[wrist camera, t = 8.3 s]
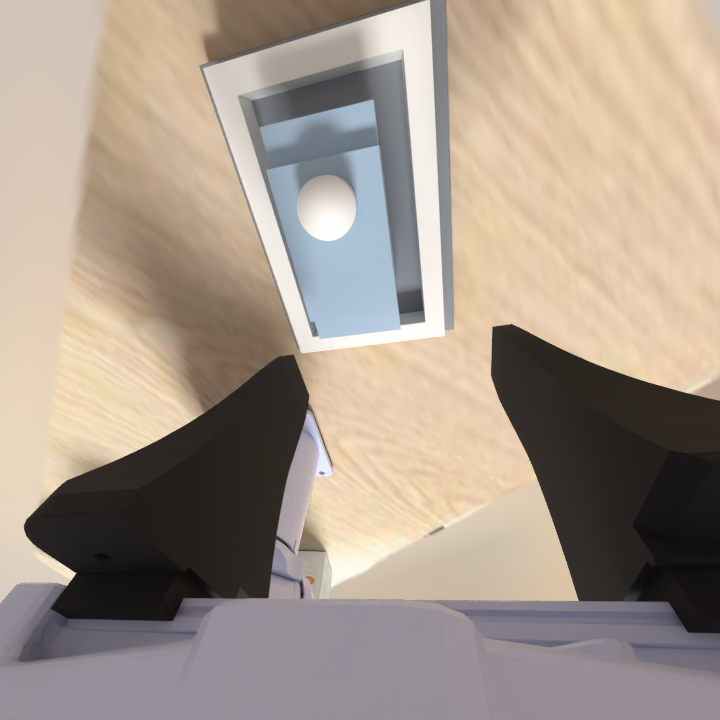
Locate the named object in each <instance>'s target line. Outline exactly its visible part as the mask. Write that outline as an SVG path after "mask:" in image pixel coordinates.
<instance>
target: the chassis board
mask: <svg viewBox="0 0 720 720" xmlns="http://www.w3.org/2000/svg"><path fill="white" fill-rule="evenodd" d="M200 69H201V72H202V75H203V78H204V80H205V83H206V86H207V89H208V92H209V95H210V98H211V101H212V103H213V106H214V109H215V112H216V115H217V118H218V121H219V123H220V126H221V129H222V132H223V135H224V138H225V141H226V144H227V146H228V149H229V152H230V155H231V158H232V161H233V164H234V166H235V169H236V172H237V175H238V178H239V181H240V184H241V186H242V189H243V192H244V195H245V198H246V201H247V204H248V207H249V209H250V212H251V215H252V218H253V221H254V224H255V227H256V229H257V232H258V235H259V238H260V241H261V244H262V247H263V249H264V252H265V255H266V258H267V261H268V264H269V267H270V270H271V272H272V275H273V278H274V281H275V284H276V287H277V290H278V292H279V295H280V298H281V301H282V304H283V307H284V310H285V312H286V315H287V318H288V321H289V324H290V327H291V330H292V333H293V335H294V338H295V341H296V344H297V347H298V349H300V351H301V353H309V352H317V351H325V350H333V349H341V348H349V347H358V346H366V345H374V344H382V343H390V342H398V341H406V340H414V339H422V338H430V337H439V336H445V330H452V329H454V304H453V265H452V226H451V187H450V148H449V109H448V70H447V31H446V0H411V1H408V2H405V3H402V4H398V5H395V6H392V7H389V8H385V9H382V10H379V11H376V12H372V13H369V14H366V15H363V16H359V17H356V18H353V19H349V20H346V21H343V22H340V23H336V24H333V25H330V26H327V27H323V28H320V29H317V30H314V31H310V32H307V33H304V34H301V35H297V36H294V37H291V38H288V39H284V40H281V41H278V42H275V43H271V44H268V45H265V46H262V47H258V48H255V49H252V50H248V51H245V52H242V53H239V54H235V55H232V56H229V57H226V58H222V59H219V60H216V61H213V62H209V63H206V64H203V65H200ZM369 100H374V106H375V114H376V123H377V131H378V139H379V146H380V147H381V151H382V159H383V168H384V177H385V185H386V194H387V202H388V211H389V219H390V228H391V237H392V245H393V254H394V262H395V271H396V282H397V298H398V307H399V316H400V325H401V329H400V330H391V331H383V332H375V333H366V334H358V335H350V336H342V337H333V338H325V339H320V338H319V335H318V331H317V328H316V324H315V322H310V319H309V315H308V312H307V308H306V305H305V302H304V298H303V295H302V291H301V288H300V285H299V281H298V278H297V275H296V271H295V268H294V264H293V261H292V258H291V254H290V251H289V247H288V244H287V241H286V237H285V234H284V230H283V227H282V224H281V220H280V217H279V214H278V210H277V207H276V203H275V200H274V197H273V193H272V190H271V186H270V183H269V180H268V176H267V173H266V170H268V169H271V167H270V164H269V160H268V157H267V153H266V150H265V146H264V143H263V139H262V136H261V132H260V129H259V127H263V126H267V125H271V124H275V123H279V122H283V121H287V120H291V119H296V118H300V117H304V116H308V115H312V114H316V113H320V112H324V111H328V110H332V109H336V108H340V107H345V106H349V105H353V104H357V103H361V102H365V101H369Z"/></svg>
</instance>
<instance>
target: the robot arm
mask: <svg viewBox="0 0 720 720" xmlns="http://www.w3.org/2000/svg"><path fill="white" fill-rule="evenodd" d="M491 376H492V380H493V383H494V386H495V389H496V392H497V394H498V397H499V400H500V402H501V404H502V406H503V408H504V410H505V412H506V414H507V416H508V418H509V420H510V422H511V423H512V425H513V427H514V429H515V431H516V433H517V435H518V437H519V439H520V441H521V443H522V445H523V447H524V449H525V451H526V453H527V455H528V457H529V459H530V461H531V464H532V466H533V469H534V471H535V474H536V476H537V479H538V482H539V484H540V487H541V490H542V492H543V495H544V498H545V501H546V503H547V506H548V509H549V511H550V514H551V517H552V520H553V523H554V526H555V528H556V532H557V535H558V538H559V541H560V544H561V546H562V549H563V552H564V555H565V558H566V561H567V565H568V568H569V571H570V574H571V577H572V581H573V584H574V587H575V590H576V593H577V597H578V599H579V601H482V600H481V601H480V600H479V601H478V600H477V601H476V600H402V599H314V596H313V593H312V587H311V584H310V582H309V580H308V579H307V578H305V577H302V572H303V567H304V562H305V559H304V558H301V557H299V556H297V554H298V550H299V545H300V541H301V536H302V532H303V528H304V523H305V519H306V515H307V510H308V506H309V501H310V497H311V493H312V488H313V484H314V479H315V477H318V476H330V475H332V474H333V468H332V465H331V462H330V460H329V457H328V454H327V452H326V449H325V446H324V444H323V441H322V438H321V435H320V433H319V430H318V427H317V425H316V422H315V419H314V416H313V414H312V412H310V411H309V410H307V408H308V401H309V394H308V391H307V389H306V386H305V383H304V381H303V378H302V375H301V373H300V370H299V367H298V365H297V362H296V359H295V357H294V355H287V356H280V357H278V358H276V359H274V360H273V361H272V362H270V363H269V364H268V365H266V366H265V367H264V368H263V369H261V370H260V371H259V372H258V373H257V374H255V375H254V376H253V377H252V378H250V379H249V380H248V381H247V382H246V383H244V384H243V385H242V386H241V387H239V388H238V389H237V390H235V391H234V392H233V393H232V394H230V395H229V396H228V397H226V398H225V399H224V400H222V401H221V402H220V403H218V404H217V405H216V406H214V407H213V408H211V409H210V410H208V411H207V412H205V413H204V414H202V415H201V416H199V417H198V418H196V419H195V420H193V421H191V422H190V423H188V424H186V425H185V426H183V427H181V428H179V429H178V430H176V431H174V432H172V433H170V434H169V435H167V436H165V437H163V438H162V439H160V440H158V441H156V442H154V443H152V444H150V445H148V446H146V447H144V448H142V449H140V450H138V451H136V452H134V453H131V454H129V455H127V456H125V457H123V458H121V459H118V460H116V461H114V462H111V463H109V464H107V465H104V466H102V467H99V468H97V469H94V470H92V471H89V472H87V473H85V474H82V475H80V476H77V477H75V478H72V479H69V480H67V481H66V482H64V483H63V484H62V485H61V486H60V487H58V488H57V489H56V490H55V491H54V492H53V493H52V494H51V495H50V496H49V497H48V498H47V499H46V500H45V501H44V503H43V504H42V505H41V506H40V507H39V508H38V509H37V510H36V511H35V512H34V513H33V514H32V515H31V516H30V517H29V518H28V519H27V520H26V522H25V524H24V530H25V533H26V536H27V537H28V538H29V540H30V541H31V542H32V543H33V544H34V545H36V546H37V547H38V548H39V549H41V550H42V551H44V552H45V553H47V554H48V555H50V556H51V557H53V558H54V559H56V560H57V561H59V562H60V563H62V564H63V565H65V566H66V567H68V568H69V569H71V570H72V571H74V572H75V573H77V574H76V575H75V576H74V578H73V579H72V580H71V582H70V583H69V585H68V586H65V585H62V584H58V583H20V584H18V585H16V586H15V587H14V588H13V589H12V591H11V592H10V593H9V594H8V595H7V596H6V598H5V599H4V600H3V601H2V602H1V603H0V720H720V401H718V400H714V399H709V398H704V397H701V396H696V395H692V394H688V393H684V392H680V391H677V390H673V389H670V388H666V387H662V386H659V385H655V384H652V383H648V382H645V381H642V380H639V379H635V378H632V377H629V376H626V375H624V374H621V373H618V372H615V371H612V370H609V369H607V368H604V367H601V366H599V365H596V364H594V363H591V362H589V361H587V360H584V359H582V358H580V357H577V356H575V355H573V354H571V353H569V352H566V351H564V350H562V349H560V348H558V347H556V346H554V345H552V344H550V343H548V342H546V341H544V340H542V339H540V338H538V337H536V336H535V335H533V334H531V333H529V332H527V331H525V330H523V329H521V328H519V327H517V326H515V325H512V324H510V325H503V326H496V327H493V331H492V363H491Z"/></svg>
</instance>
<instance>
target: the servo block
mask: <svg viewBox="0 0 720 720" xmlns="http://www.w3.org/2000/svg"><path fill="white" fill-rule="evenodd" d="M259 129H260V132H261V136H262V139H263V143H264V146H265V150H266V153H267V157H268V160H269V164H270V167H271V169H268V170H266V173H267V176H268V180H269V183H270V186H271V190H272V193H273V197H274V200H275V203H276V207H277V210H278V214H279V217H280V220H281V224H282V227H283V230H284V234H285V237H286V241H287V244H288V247H289V251H290V254H291V258H292V261H293V264H294V268H295V271H296V275H297V278H298V281H299V285H300V288H301V291H302V295H303V298H304V302H305V305H306V308H307V312H308V315H309V319H310V322H315V324H316V328H317V331H318V335H319V338H320V339H325V338H333V337H342V336H350V335H358V334H366V333H375V332H383V331H391V330H400V329H401V325H400V316H399V307H398V298H397V282H396V271H395V262H394V254H393V245H392V237H391V228H390V219H389V211H388V202H387V194H386V185H385V177H384V168H383V159H382V151H381V147H380V146H379V139H378V131H377V123H376V114H375V106H374V100H369V101H365V102H361V103H357V104H353V105H349V106H345V107H340V108H336V109H332V110H328V111H324V112H320V113H316V114H312V115H308V116H304V117H300V118H296V119H291V120H287V121H283V122H279V123H275V124H271V125H267V126H263V127H259Z"/></svg>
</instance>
